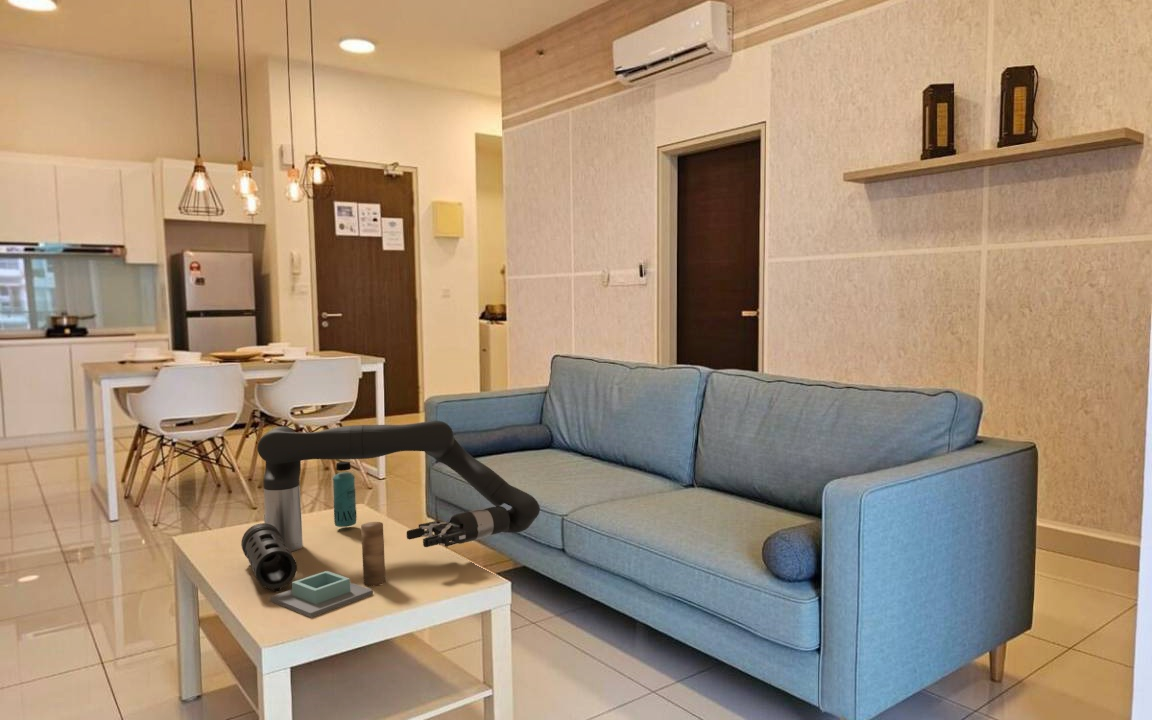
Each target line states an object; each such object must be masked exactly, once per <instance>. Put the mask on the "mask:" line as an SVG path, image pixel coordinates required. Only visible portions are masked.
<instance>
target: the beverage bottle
mask: <svg viewBox="0 0 1152 720" xmlns="http://www.w3.org/2000/svg"><path fill="white" fill-rule="evenodd" d="M335 465H336V467H335V471H338V472H339V471H347V472H339V473H336V474H335V475H334V476H333V477H332V490H333V513H334V514H333V522H334V526H336V527H339V528H341V527H342V528H346V527H350V526H351V527H352V526H354V525H356V524H357V520H358V514H357V505H356V496H357V495H356V493H357V492H356V487H355V484H356V481H355V479H356V477H355V475H354V474H353V473H351V472H349V471H348V470H351V469H352V468H351V462H350V461H338V462H336V464H335Z"/></svg>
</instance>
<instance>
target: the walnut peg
mask: <svg viewBox="0 0 1152 720" xmlns="http://www.w3.org/2000/svg"><path fill="white" fill-rule="evenodd" d="M360 528H361V533H360V534H361V553H362V554H361V555H362V572H363V573H362V575H363V578H362V579H363V585H364V587H378V586H381V585H384V584H385V583H386V566H385V564H386V563H385V544H384V543H385V541H384V540H385V539H384V523H383V522H381V521H369V522H365V523H362V524H361V525H360Z"/></svg>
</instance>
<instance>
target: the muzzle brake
mask: <svg viewBox="0 0 1152 720" xmlns="http://www.w3.org/2000/svg"><path fill="white" fill-rule="evenodd" d="M240 546H241V549H242V551H243V554H244V556H245V558H246V559H248V562H249V564H250V566H251V569H252V572H253V573H254V576H255V578H256V580H257V582H258V583H259V584H260V585H261V587H264V588H265V589H268V590H273V592H274V593H277V592H281V588H284V587H286V586H288V585H289V584H290V583H292V582H293V579H294V578H295V577H296V574H297V572H298V571H297V569H298V565H297V560H296V559H295V557H294V556H293V554H292V552H290V551H289V549H288V548H287V546H286V545H285V543H284V541H283V540H282V537H281V534H280V533H279V531H278V530H277V529H276V528H275V527H274V526H272V525H270V524H266V523H257V524H254V525H251V526H250V527H249V528H247V530H246V531H245V532H244V533H243V536H242V538H241V545H240Z"/></svg>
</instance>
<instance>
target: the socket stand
mask: <svg viewBox="0 0 1152 720" xmlns="http://www.w3.org/2000/svg"><path fill="white" fill-rule="evenodd" d="M373 595H374V590H373V589H371V588H368V587H366V586H361V585H359V584H356V583H354V582H351V579H350V578H349V577H346V576H343V575H341V574H337V573H334V572H331V571H328V570H325V571H322V572H319V573H316V574H312V575H309V576H307V577H304V578H301V579H298V580H295V581H291V589H289V590H286V591H285V590H284V591H282V592H280V593H276V594H273V595H270V596H269V602H272V603H274V604H276V605H278V606H281V607H283V608H286V609H289V610H291V611H293V610H294V611H293V612H296V613H297V614H298V613H299V614H300V613H301V615H303V616H306V617H308V618H310V619H312V618H313V617H316V616H319V615H321V614H325V613H327V612H330V611H333V610H334V609H338V608H340V607H343V606H345V605H349V604H352V603H354V602H357V601H359V600H362V599H364V598H367V597H370V596H373ZM332 609H333V610H332Z"/></svg>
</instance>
